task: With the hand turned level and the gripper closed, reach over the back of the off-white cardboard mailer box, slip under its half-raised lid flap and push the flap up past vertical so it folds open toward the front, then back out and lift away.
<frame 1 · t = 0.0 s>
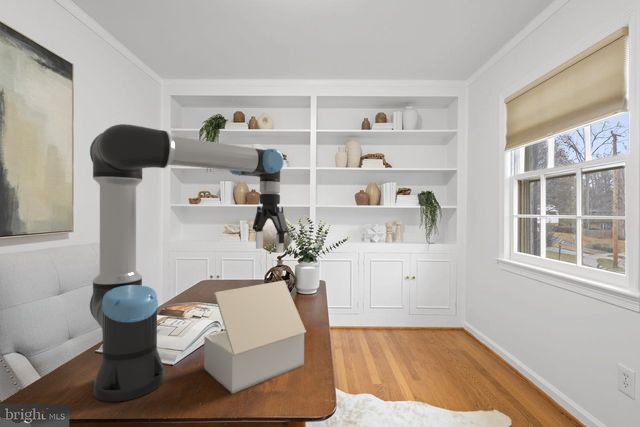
hand: (269, 250, 125), 28 cm above the table, tool pointing down, fingers open, 13 cm apart
mailer box: (254, 366, 92), on the table
fossil: (264, 314, 138), on the table
teacup with lid: (268, 325, 125), on the table
lid flap: (262, 313, 89), point 16 cm above the table, hinge at 50.0°
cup: (287, 336, 114), on the table
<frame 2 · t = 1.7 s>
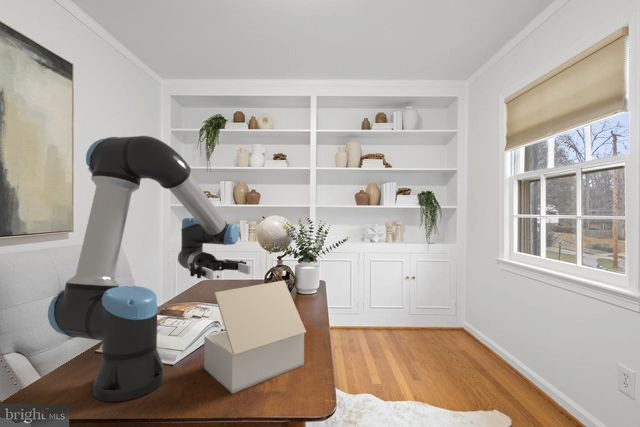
hand: (231, 272, 102), 24 cm above the table, tool horizontal, fingers open, 12 cm apart
nothing on the table moved.
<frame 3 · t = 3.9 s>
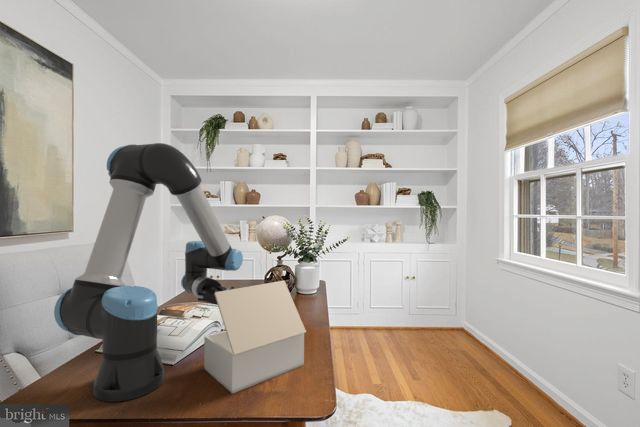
hand: (241, 304, 98), 16 cm above the table, tool horizontal, fingers closed
nothing on the table moved.
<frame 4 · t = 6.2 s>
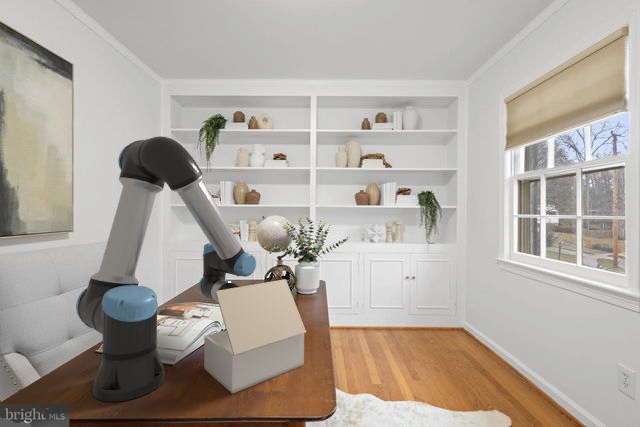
hand: (268, 310, 92), 16 cm above the table, tool horizontal, fingers closed
lid flap: (262, 312, 89), point 16 cm above the table, hinge at 53.0°, touching gripper
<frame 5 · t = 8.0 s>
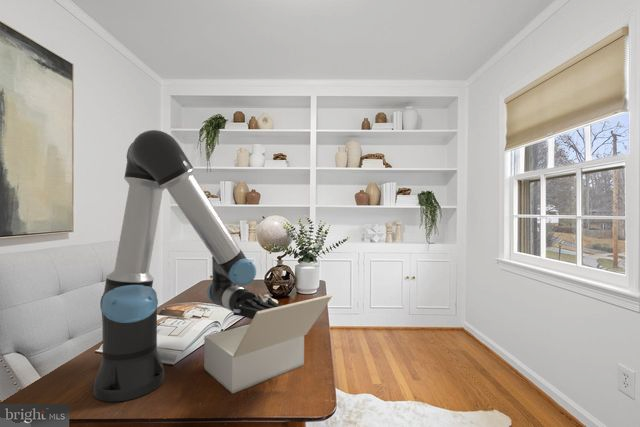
hand: (287, 320, 85), 16 cm above the table, tool horizontal, fingers closed
lid flap: (284, 324, 82), point 16 cm above the table, hinge at 128.2°, touching gripper
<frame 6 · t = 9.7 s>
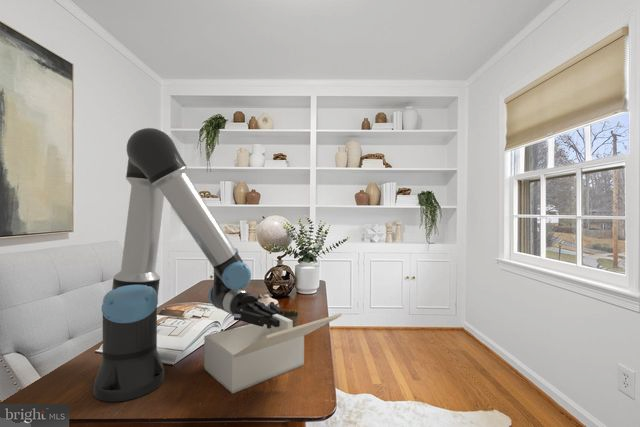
hand: (290, 326, 80), 16 cm above the table, tool horizontal, fingers closed
lid flap: (289, 335, 80), point 14 cm above the table, hinge at 147.0°, touching gripper
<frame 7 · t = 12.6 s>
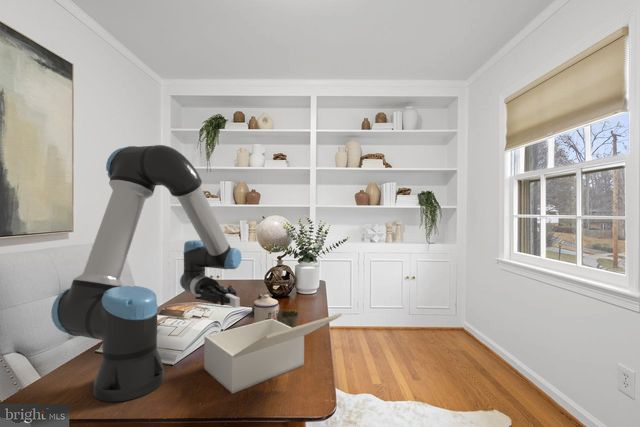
hand: (237, 302, 99), 16 cm above the table, tool horizontal, fingers closed
lid flap: (289, 335, 80), point 14 cm above the table, hinge at 147.0°
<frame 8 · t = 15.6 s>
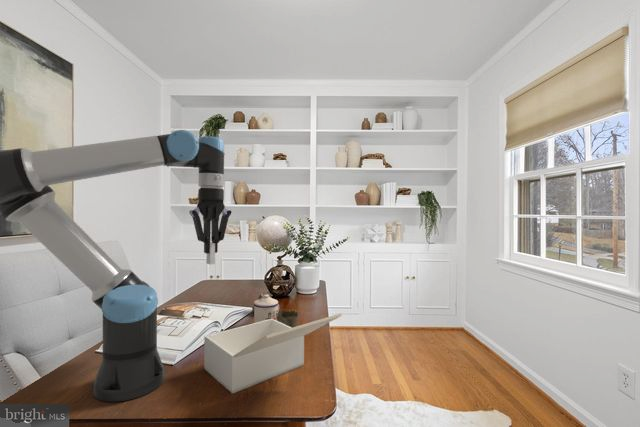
hand: (210, 263, 104), 26 cm above the table, tool pointing down, fingers closed
at the end: lid flap at +147° (first picture: +50°) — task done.
